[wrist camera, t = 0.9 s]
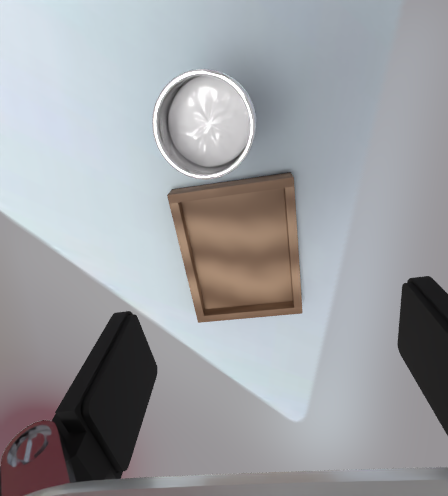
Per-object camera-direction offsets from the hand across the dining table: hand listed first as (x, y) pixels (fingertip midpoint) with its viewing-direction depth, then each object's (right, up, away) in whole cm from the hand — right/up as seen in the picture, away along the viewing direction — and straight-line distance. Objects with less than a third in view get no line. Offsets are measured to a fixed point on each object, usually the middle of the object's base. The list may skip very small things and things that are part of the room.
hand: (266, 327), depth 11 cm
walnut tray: (+1, +3, +29) cm, 29 cm away
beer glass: (-2, +17, +22) cm, 28 cm away
